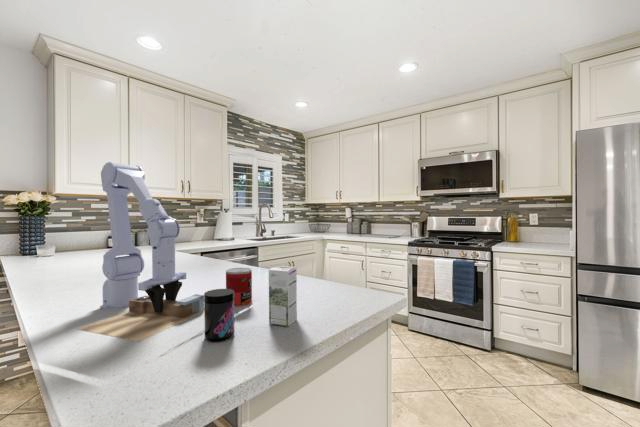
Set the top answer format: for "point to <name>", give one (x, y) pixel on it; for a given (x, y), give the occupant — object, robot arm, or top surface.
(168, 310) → the link
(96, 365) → the top surface
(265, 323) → the top surface
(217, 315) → the supplement container
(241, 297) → the canned food
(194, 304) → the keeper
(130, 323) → the board
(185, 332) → the top surface
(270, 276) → the syrup box
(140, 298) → the post
